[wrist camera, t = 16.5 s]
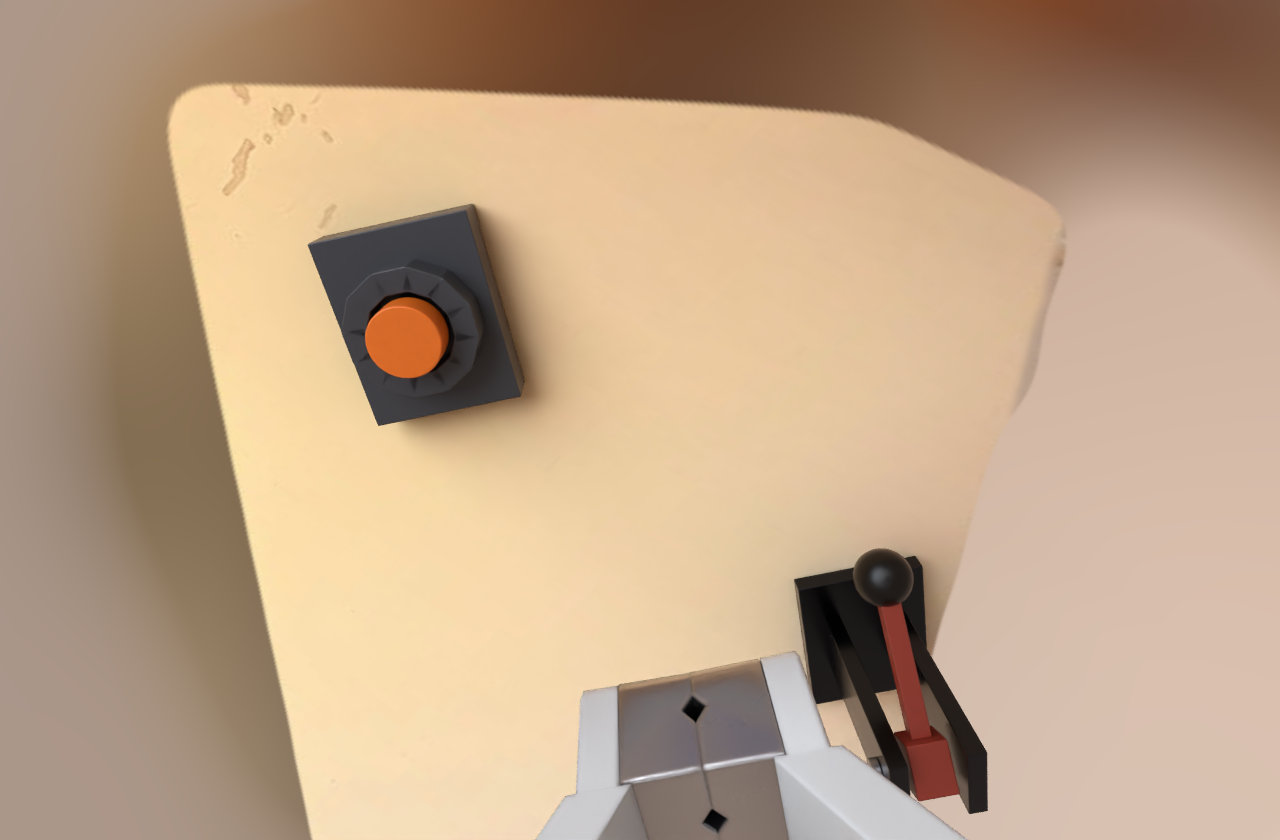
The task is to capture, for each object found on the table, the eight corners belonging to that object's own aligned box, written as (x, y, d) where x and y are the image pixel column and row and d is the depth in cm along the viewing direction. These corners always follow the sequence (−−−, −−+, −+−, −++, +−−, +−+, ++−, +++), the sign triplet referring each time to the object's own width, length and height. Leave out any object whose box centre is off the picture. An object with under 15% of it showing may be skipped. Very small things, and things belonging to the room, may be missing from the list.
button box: (322, 236, 37) (292, 251, 34) (473, 203, 37) (458, 214, 33) (388, 410, 41) (367, 440, 38) (525, 382, 41) (517, 409, 37)
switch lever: (841, 552, 42) (854, 557, 39) (896, 541, 42) (913, 545, 39) (893, 782, 41) (911, 807, 37) (950, 772, 41) (973, 795, 37)
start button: (364, 305, 35) (353, 314, 34) (436, 289, 35) (428, 298, 33) (389, 373, 37) (380, 385, 35) (458, 358, 36) (451, 370, 35)
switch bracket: (793, 579, 47) (855, 736, 36) (915, 555, 47) (1018, 706, 35) (809, 692, 51) (869, 866, 40) (922, 671, 51) (1015, 841, 39)
